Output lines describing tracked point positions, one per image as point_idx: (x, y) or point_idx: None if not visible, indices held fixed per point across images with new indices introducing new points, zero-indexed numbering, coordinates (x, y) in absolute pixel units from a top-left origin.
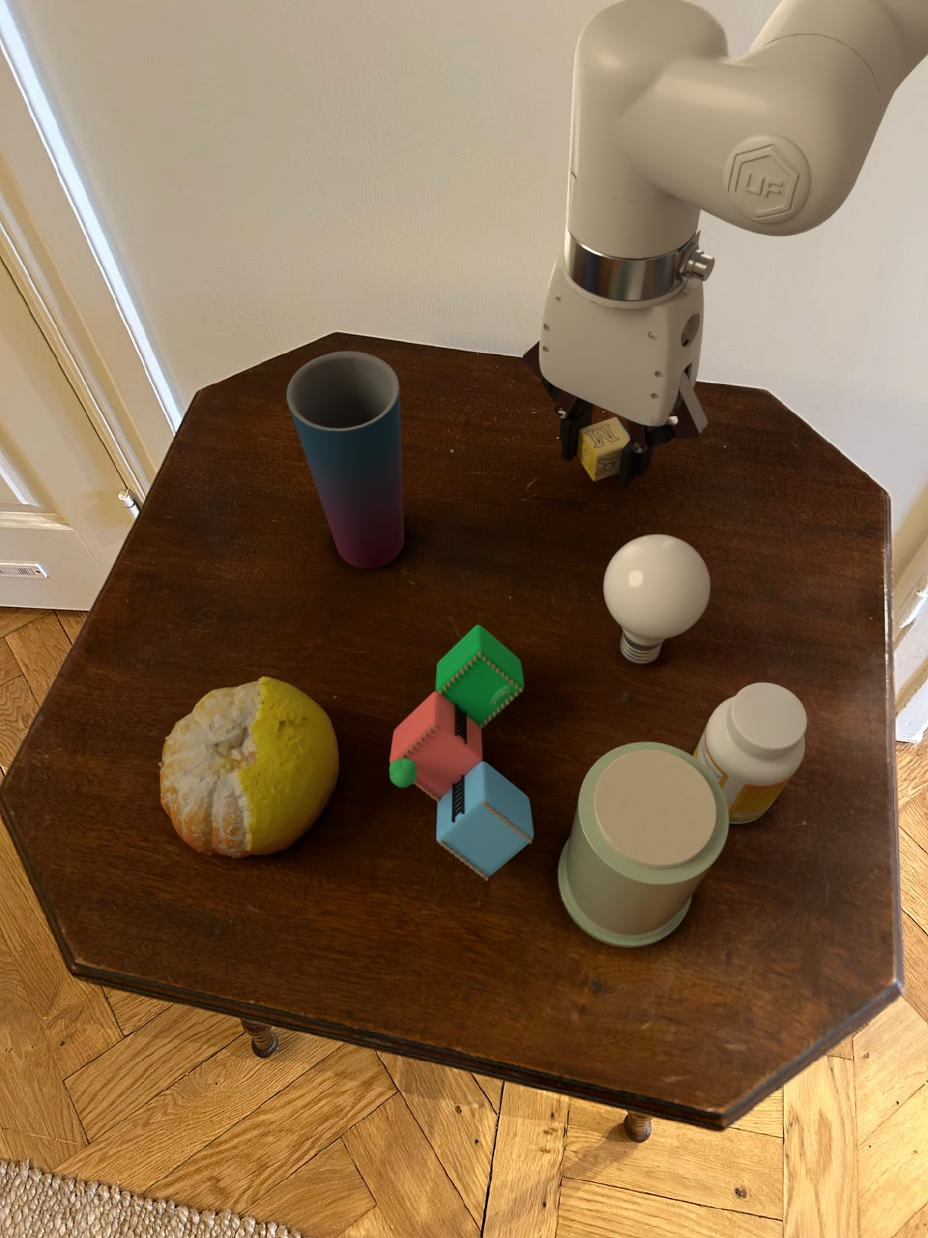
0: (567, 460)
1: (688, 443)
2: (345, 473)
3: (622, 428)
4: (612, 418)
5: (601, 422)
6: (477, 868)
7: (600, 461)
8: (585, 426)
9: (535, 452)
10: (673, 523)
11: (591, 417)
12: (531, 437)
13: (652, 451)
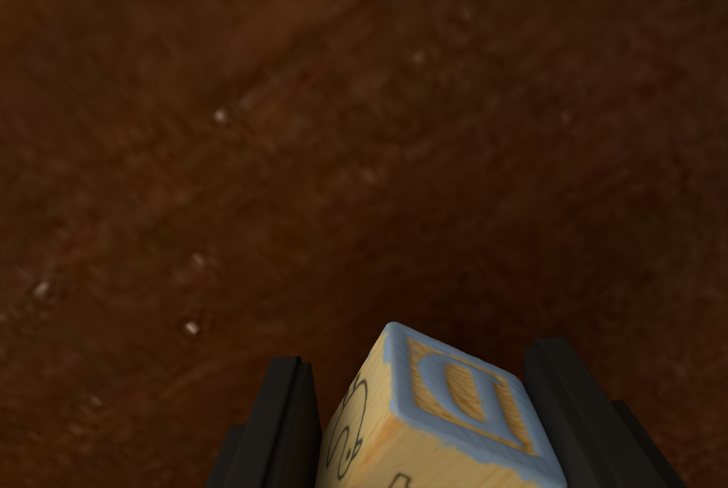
0: None
1: (594, 34)
2: None
3: (472, 455)
4: (390, 433)
5: (364, 482)
6: None
7: None
8: (301, 473)
9: (185, 415)
10: (708, 377)
11: (292, 444)
12: (127, 377)
13: (659, 454)
